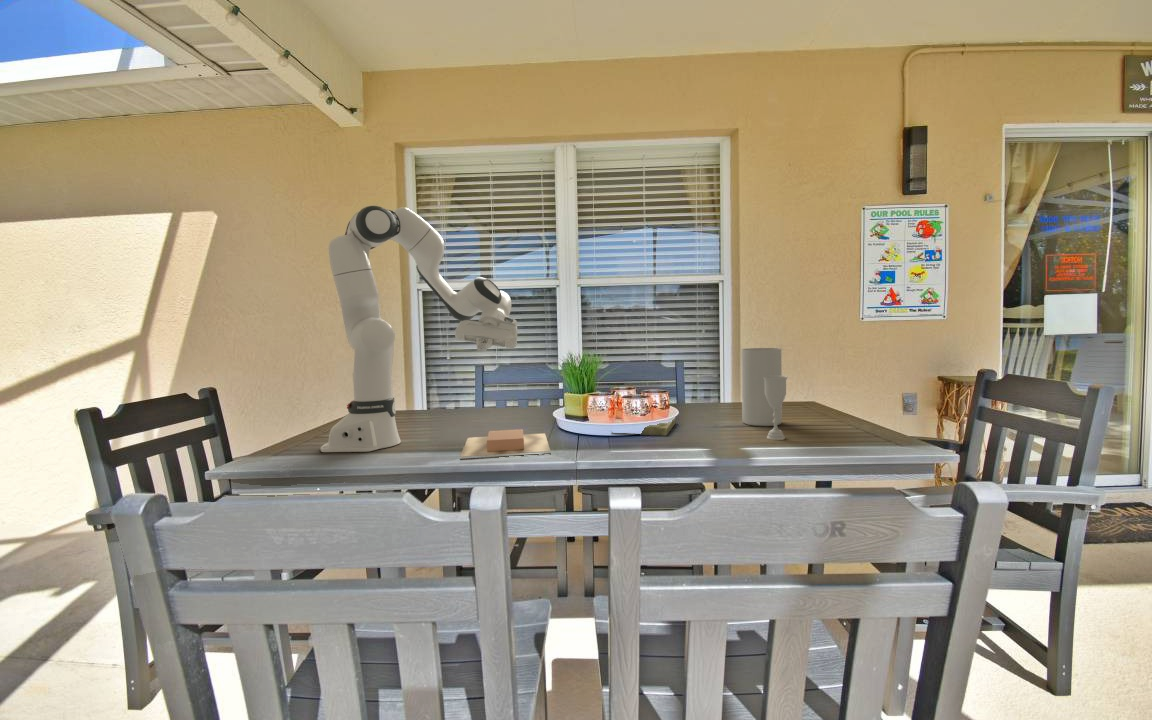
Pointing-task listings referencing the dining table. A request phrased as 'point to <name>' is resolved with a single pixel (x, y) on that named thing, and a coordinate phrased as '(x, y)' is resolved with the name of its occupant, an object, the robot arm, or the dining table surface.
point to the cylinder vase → (759, 385)
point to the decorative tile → (658, 428)
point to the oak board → (479, 447)
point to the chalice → (775, 400)
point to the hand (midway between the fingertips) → (481, 349)
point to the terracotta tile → (505, 440)
